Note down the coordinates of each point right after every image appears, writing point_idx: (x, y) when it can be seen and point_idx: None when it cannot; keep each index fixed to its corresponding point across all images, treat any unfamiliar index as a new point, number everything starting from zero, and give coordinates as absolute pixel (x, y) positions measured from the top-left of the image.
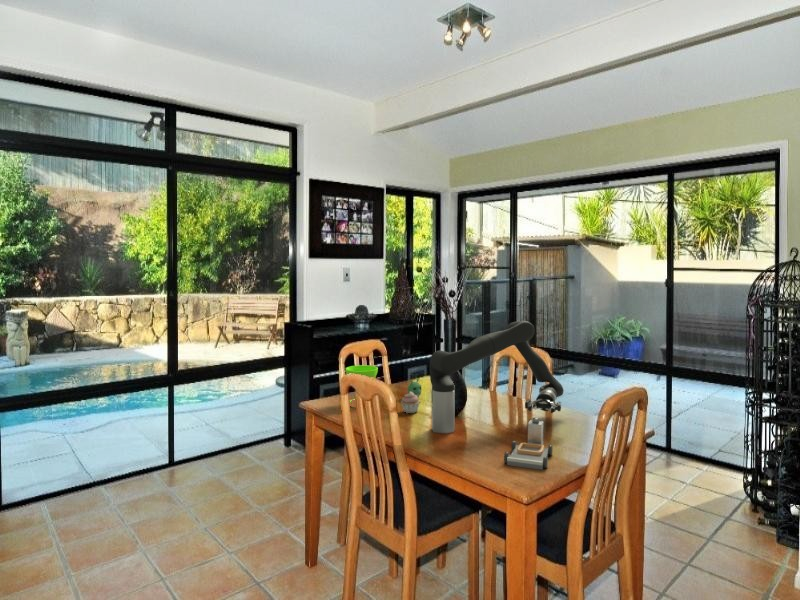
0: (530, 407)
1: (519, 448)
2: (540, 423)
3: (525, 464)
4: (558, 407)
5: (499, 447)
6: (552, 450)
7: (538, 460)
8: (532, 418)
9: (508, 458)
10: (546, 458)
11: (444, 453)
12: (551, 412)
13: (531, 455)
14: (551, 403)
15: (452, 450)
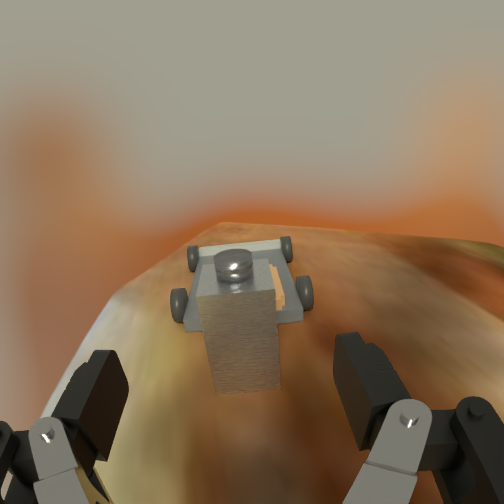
0: (338, 340)
1: (271, 269)
2: (208, 272)
3: None
4: (20, 437)
5: (358, 308)
6: (173, 315)
7: (211, 263)
8: (249, 251)
9: (276, 240)
10: (189, 246)
11: (426, 247)
12: (121, 380)
13: None
14: (63, 472)
15: (430, 258)
